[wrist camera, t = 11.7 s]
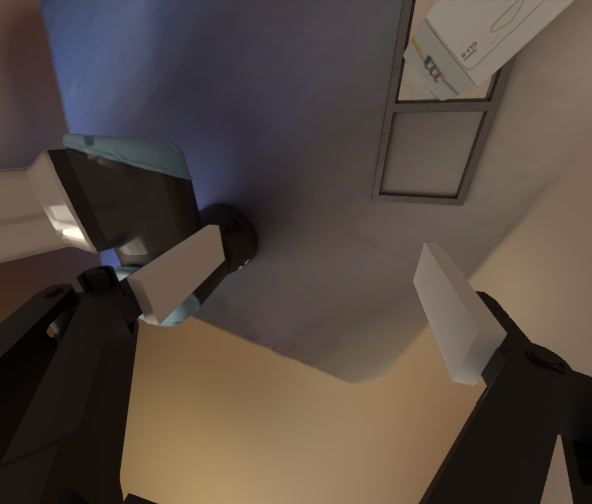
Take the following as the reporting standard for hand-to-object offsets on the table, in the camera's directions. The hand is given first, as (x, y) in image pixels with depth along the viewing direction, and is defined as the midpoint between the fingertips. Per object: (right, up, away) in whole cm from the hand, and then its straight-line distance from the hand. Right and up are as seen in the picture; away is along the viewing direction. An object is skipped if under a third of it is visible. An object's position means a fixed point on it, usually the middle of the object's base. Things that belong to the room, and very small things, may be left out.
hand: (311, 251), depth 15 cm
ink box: (+19, +26, +14) cm, 35 cm away
